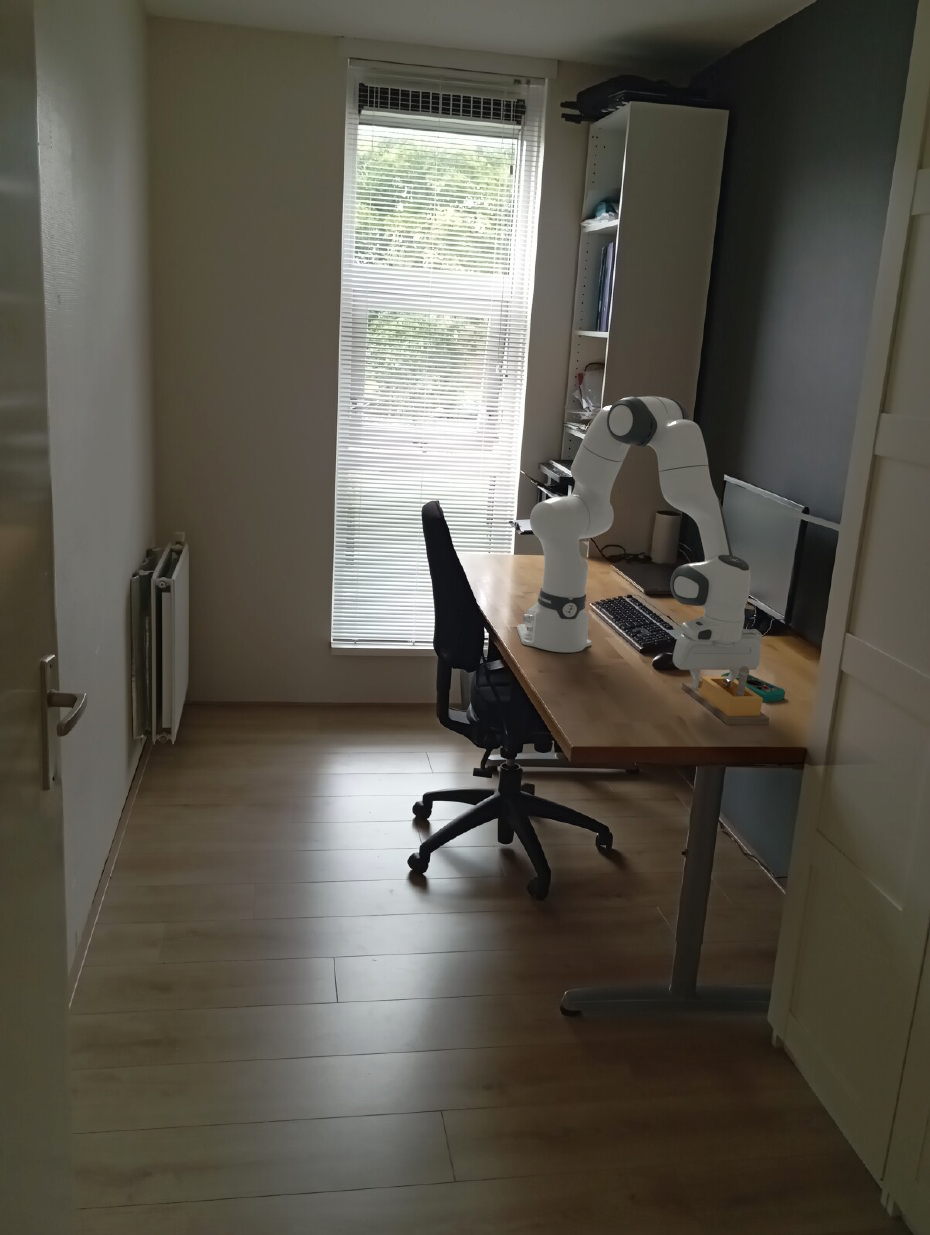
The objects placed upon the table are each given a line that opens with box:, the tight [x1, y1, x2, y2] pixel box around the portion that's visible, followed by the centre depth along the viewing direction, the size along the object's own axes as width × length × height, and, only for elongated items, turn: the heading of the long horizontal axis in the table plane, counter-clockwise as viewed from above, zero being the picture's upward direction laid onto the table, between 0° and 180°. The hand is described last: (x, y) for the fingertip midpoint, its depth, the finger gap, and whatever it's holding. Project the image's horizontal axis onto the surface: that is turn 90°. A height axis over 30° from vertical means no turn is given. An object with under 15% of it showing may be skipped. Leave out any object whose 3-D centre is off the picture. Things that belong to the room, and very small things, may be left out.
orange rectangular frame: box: [699, 676, 763, 716], centre depth 228 cm, size 14×8×4 cm, turn 15°
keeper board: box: [681, 666, 770, 726], centre depth 230 cm, size 22×10×12 cm, turn 15°
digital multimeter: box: [720, 671, 786, 703], centre depth 244 cm, size 7×15×3 cm, turn 33°
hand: (712, 686), depth 231 cm, fingers open, 6 cm apart
